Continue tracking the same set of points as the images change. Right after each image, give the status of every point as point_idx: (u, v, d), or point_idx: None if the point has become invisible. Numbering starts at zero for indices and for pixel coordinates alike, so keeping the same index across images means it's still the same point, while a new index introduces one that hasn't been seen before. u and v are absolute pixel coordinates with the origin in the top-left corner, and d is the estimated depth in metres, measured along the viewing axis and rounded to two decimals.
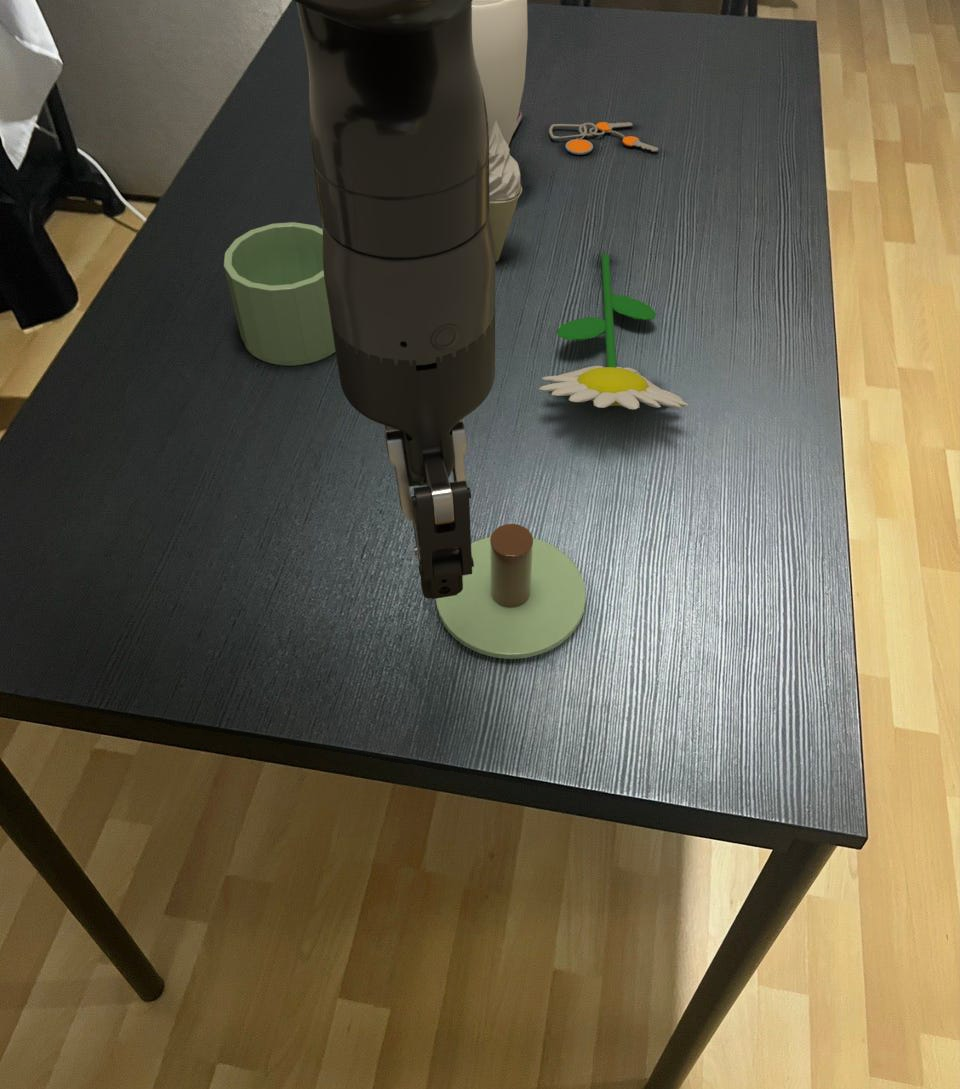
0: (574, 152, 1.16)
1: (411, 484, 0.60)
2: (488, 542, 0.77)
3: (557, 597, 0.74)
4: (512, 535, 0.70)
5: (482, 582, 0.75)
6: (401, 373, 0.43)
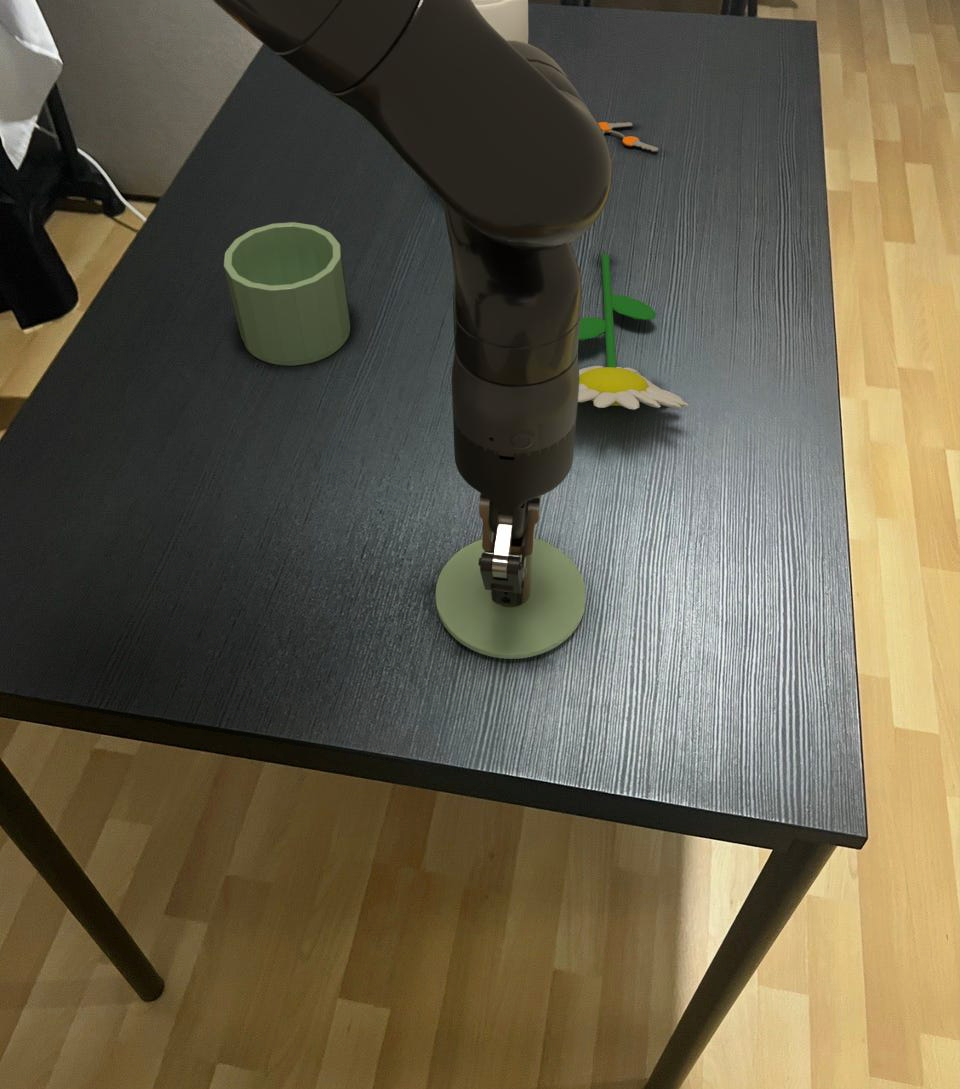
0: None
1: None
2: None
3: (557, 597, 0.74)
4: None
5: (482, 582, 0.75)
6: (488, 457, 0.59)
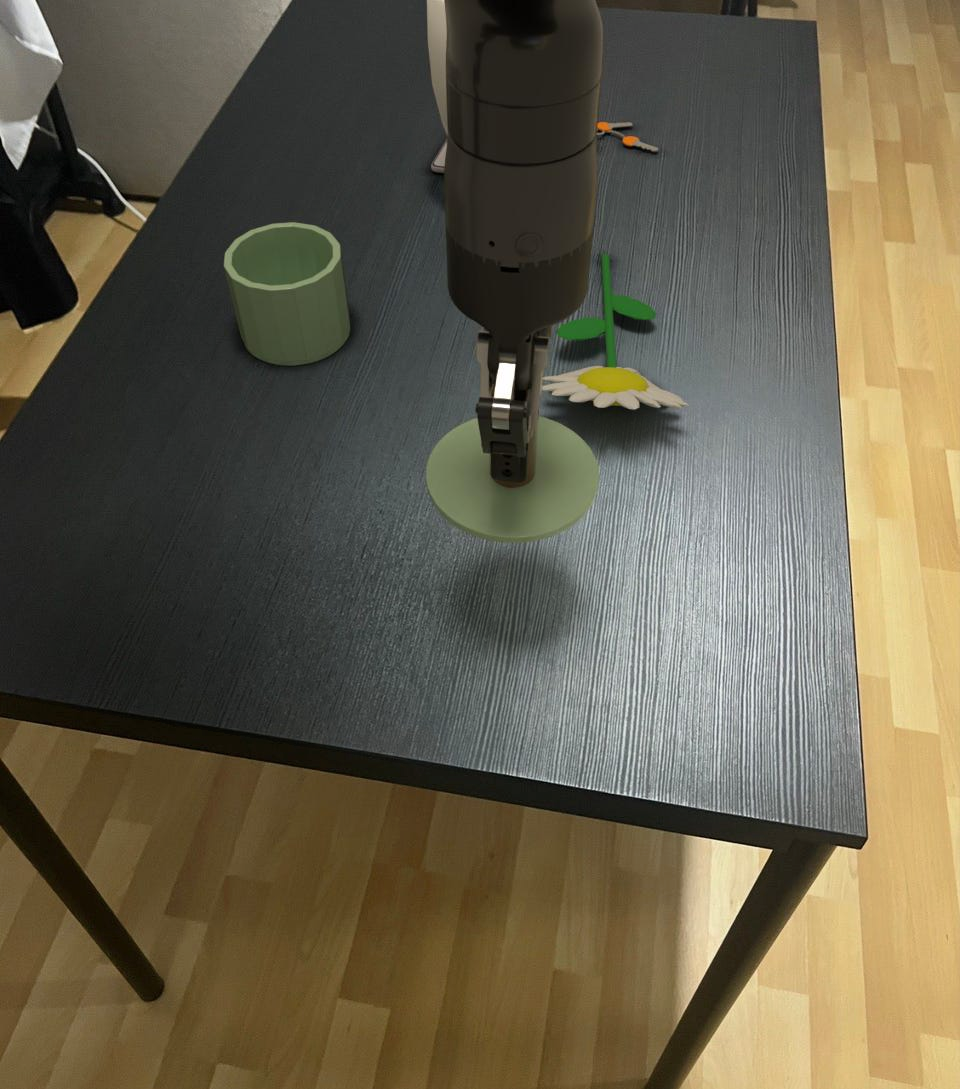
0: None
1: None
2: None
3: (566, 477, 0.64)
4: None
5: (480, 461, 0.65)
6: (487, 271, 0.49)
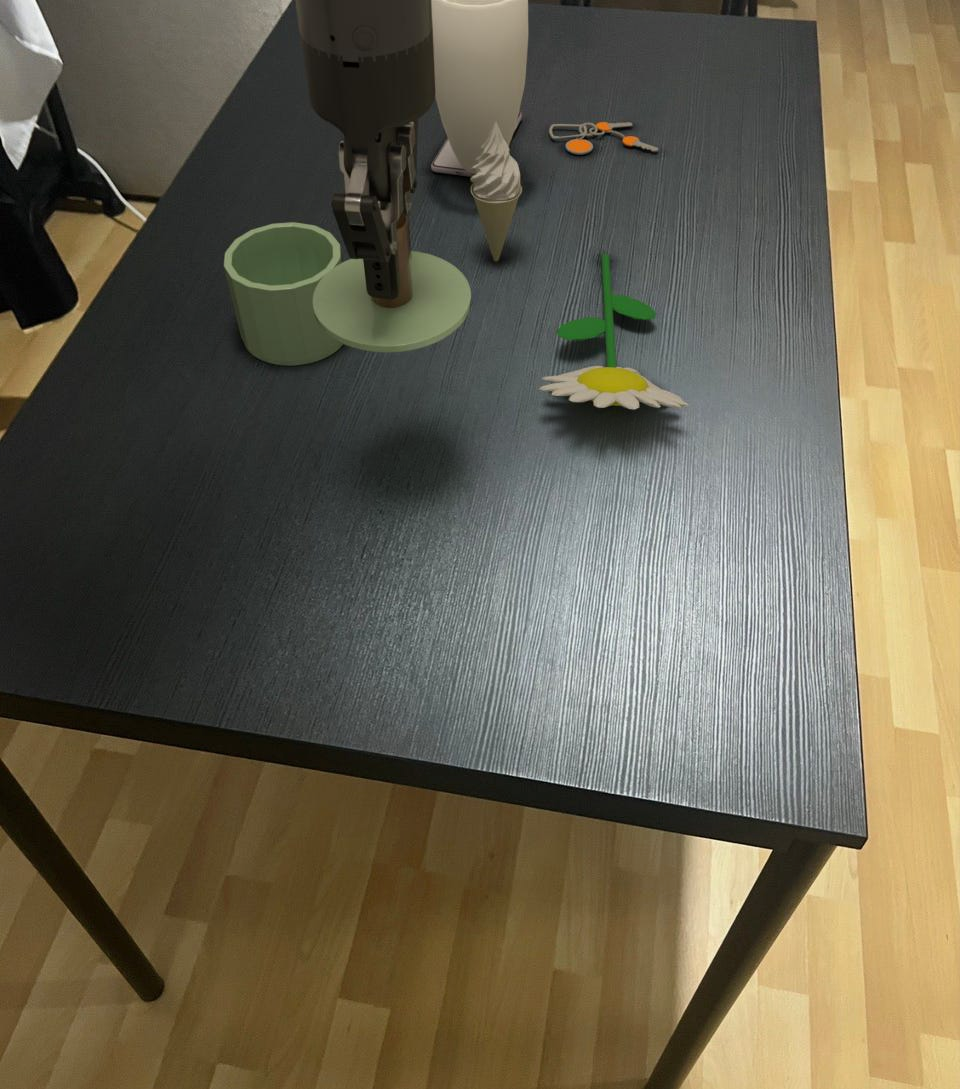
0: (574, 152, 1.16)
1: None
2: None
3: (440, 300, 0.70)
4: None
5: (363, 287, 0.71)
6: (332, 67, 0.55)
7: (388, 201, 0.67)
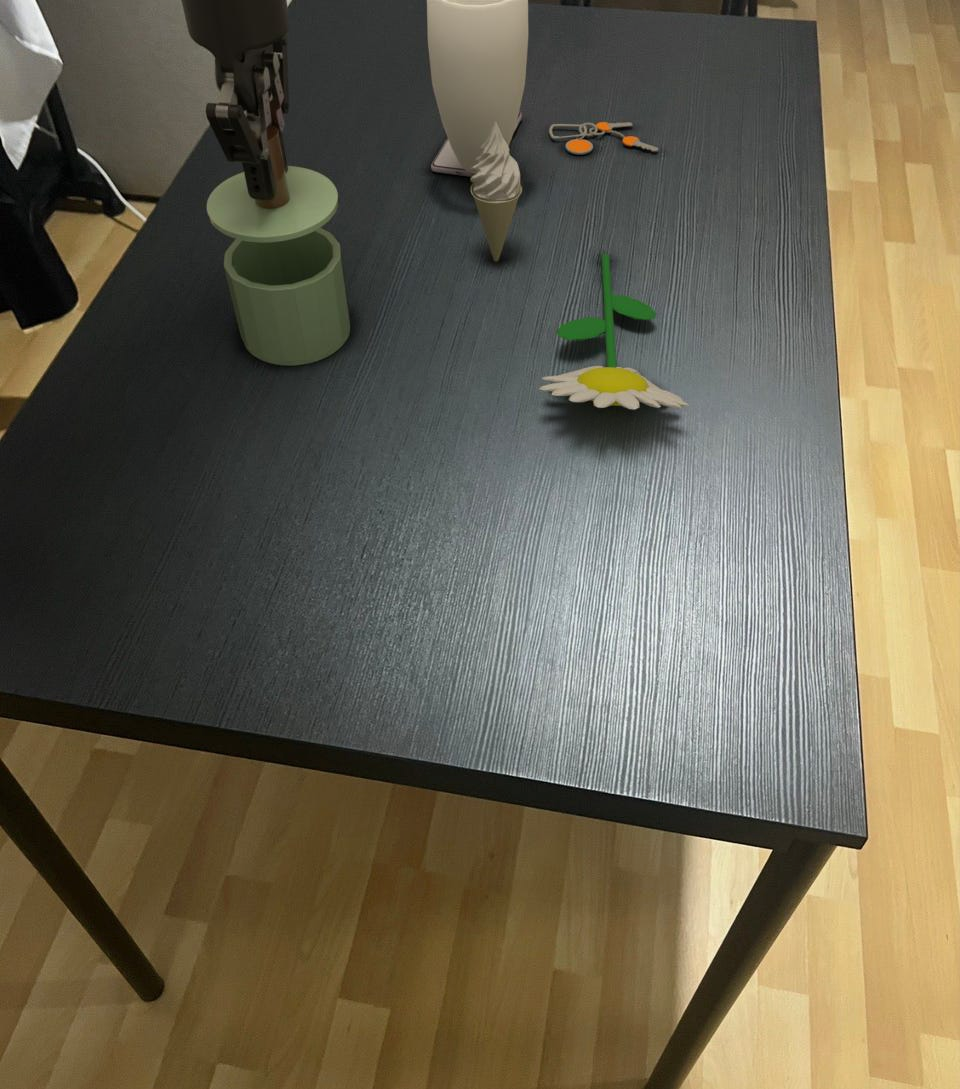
0: (574, 152, 1.16)
1: None
2: None
3: (312, 202, 0.85)
4: None
5: None
6: (199, 0, 0.70)
7: None
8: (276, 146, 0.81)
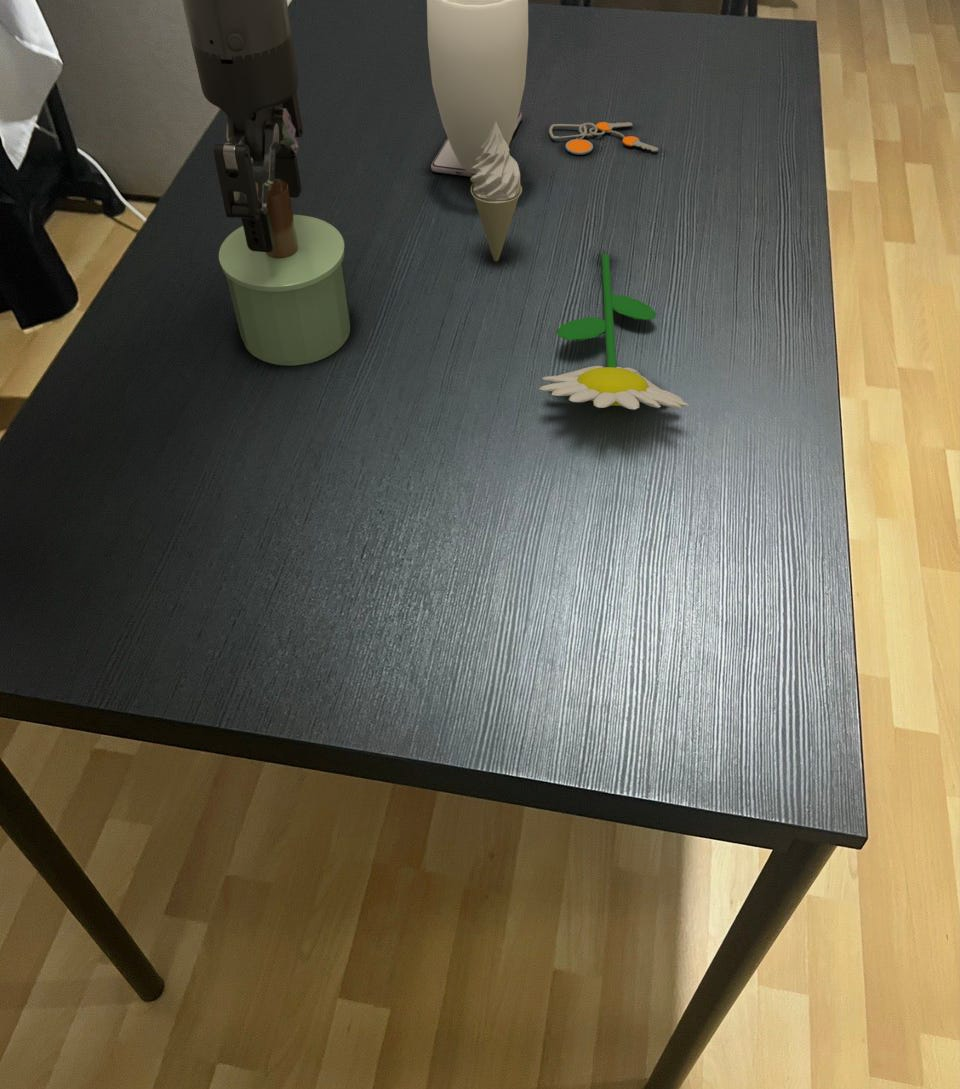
0: (574, 152, 1.16)
1: None
2: None
3: (319, 252, 0.89)
4: (271, 185, 0.85)
5: None
6: (213, 64, 0.73)
7: None
8: (286, 200, 0.85)
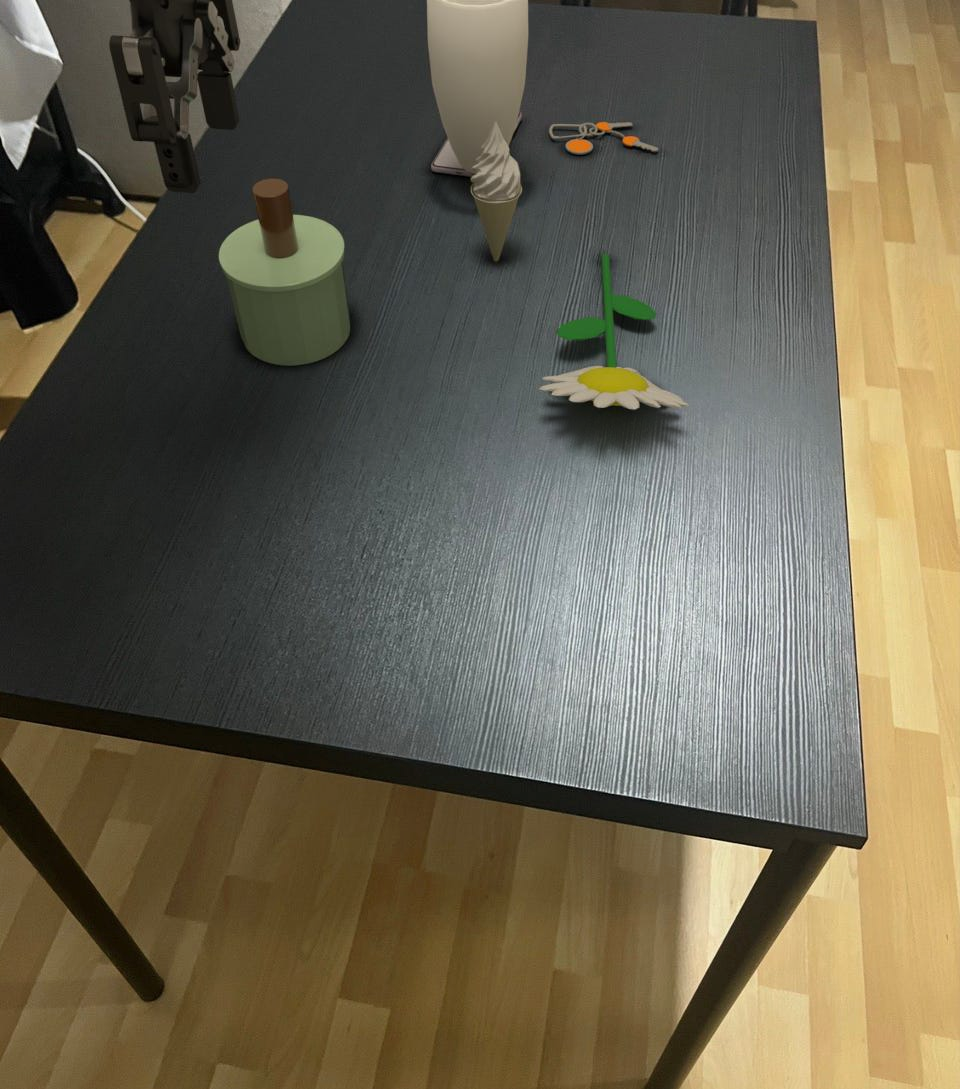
0: (574, 152, 1.16)
1: (215, 126, 0.70)
2: None
3: (319, 252, 0.89)
4: (271, 185, 0.85)
5: (260, 243, 0.90)
6: None
7: (208, 60, 0.67)
8: (286, 200, 0.85)
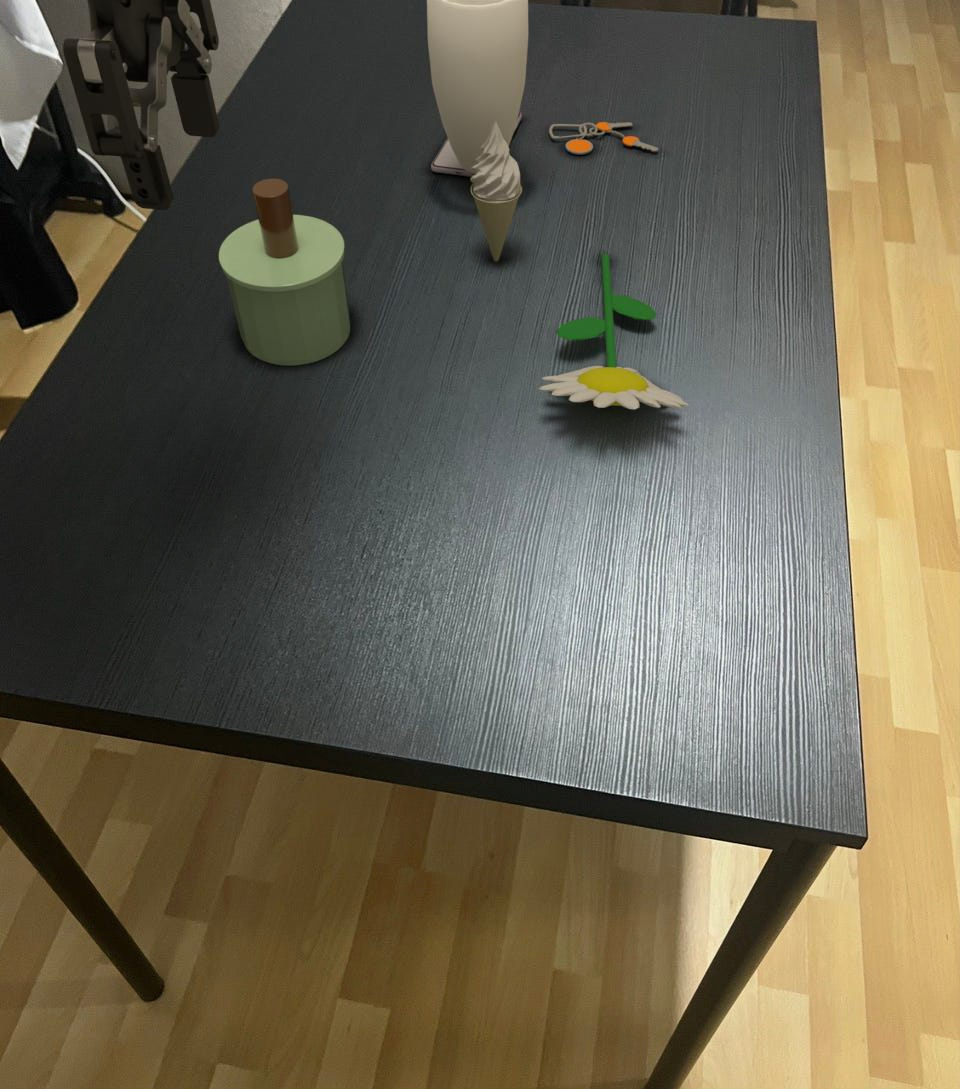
0: (574, 152, 1.16)
1: (193, 133, 0.64)
2: None
3: (319, 252, 0.89)
4: (271, 185, 0.85)
5: (260, 243, 0.90)
6: None
7: (183, 61, 0.61)
8: (286, 200, 0.85)
